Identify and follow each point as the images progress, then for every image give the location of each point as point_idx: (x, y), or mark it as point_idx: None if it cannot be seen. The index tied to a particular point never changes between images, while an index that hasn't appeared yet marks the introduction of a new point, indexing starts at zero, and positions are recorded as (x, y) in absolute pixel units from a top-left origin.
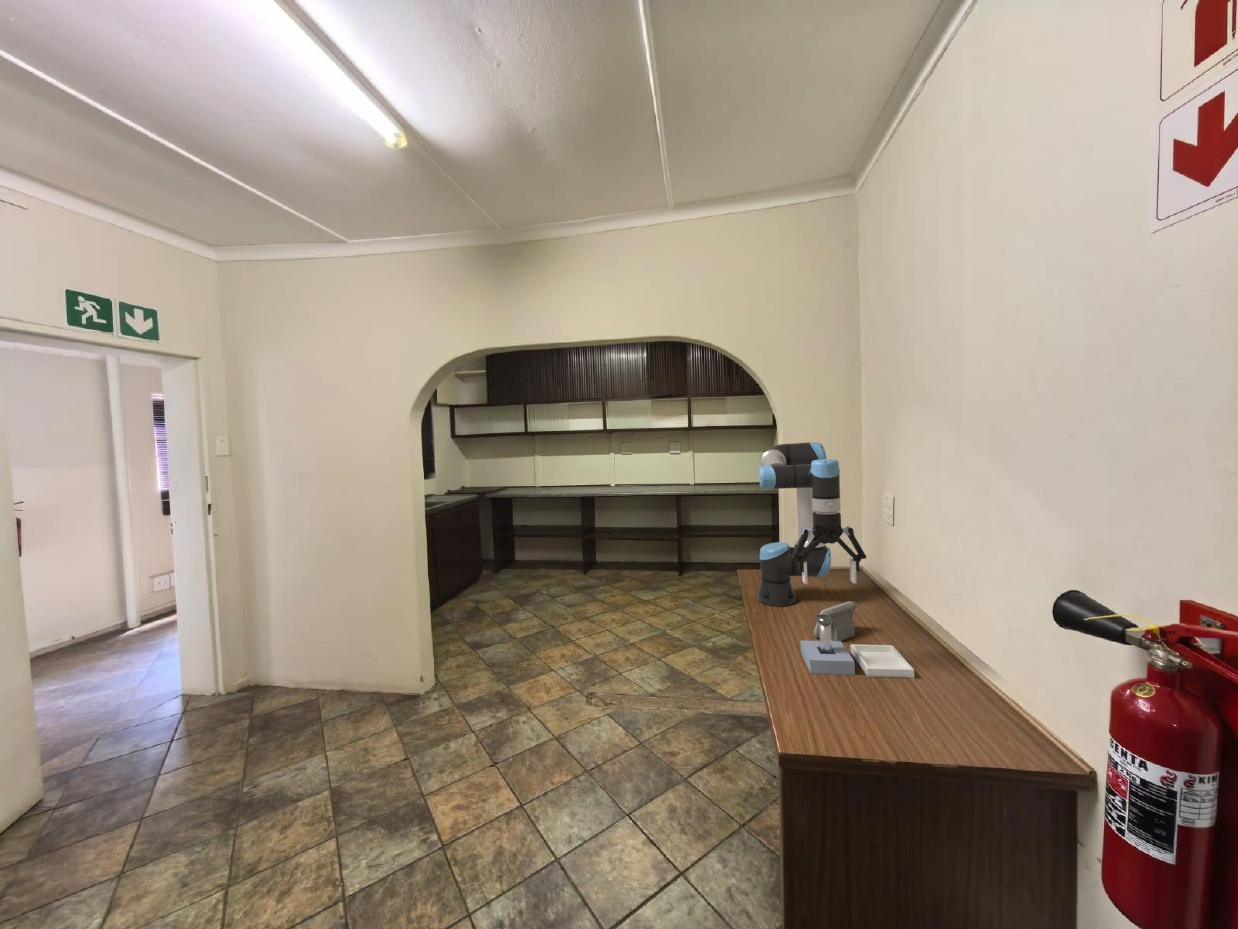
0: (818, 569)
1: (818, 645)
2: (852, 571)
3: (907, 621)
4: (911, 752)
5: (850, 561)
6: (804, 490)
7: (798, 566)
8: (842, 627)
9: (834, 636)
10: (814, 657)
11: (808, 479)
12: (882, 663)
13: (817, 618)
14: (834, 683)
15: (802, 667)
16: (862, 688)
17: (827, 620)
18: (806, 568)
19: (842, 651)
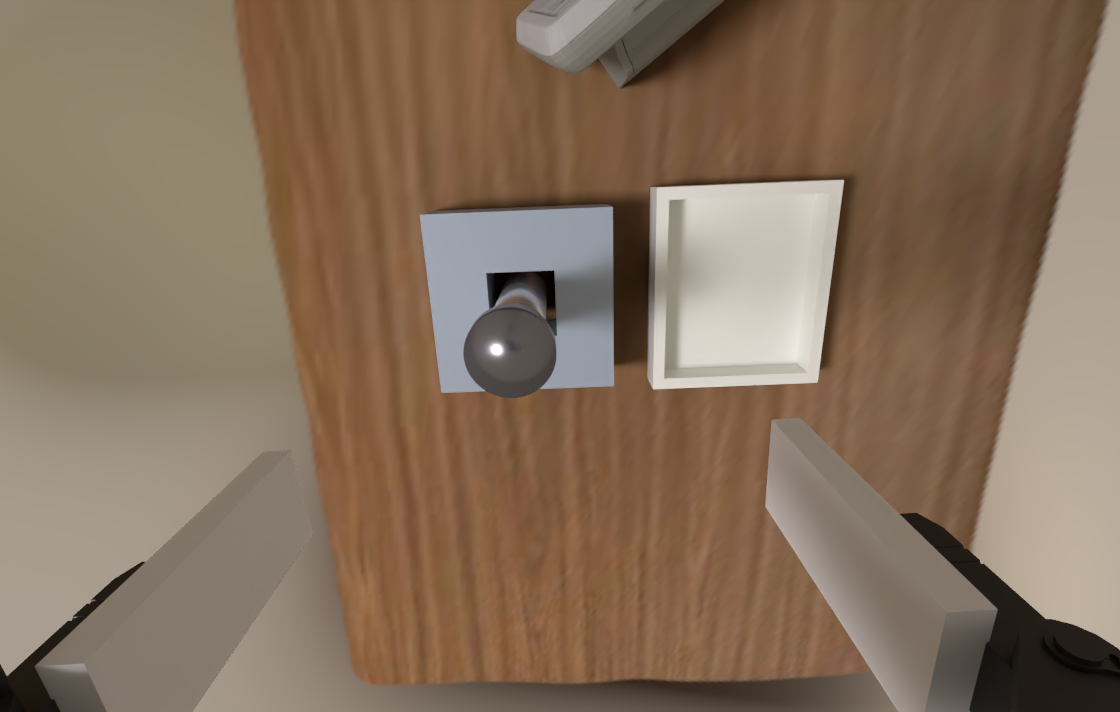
0: None
1: (497, 261)
2: (827, 570)
3: None
4: (626, 664)
5: (916, 613)
6: None
7: (75, 614)
8: (669, 37)
9: (613, 71)
10: (462, 371)
11: None
12: (738, 293)
13: (465, 363)
14: (523, 424)
15: (427, 332)
16: (605, 443)
17: (517, 393)
18: (201, 690)
19: (590, 309)
